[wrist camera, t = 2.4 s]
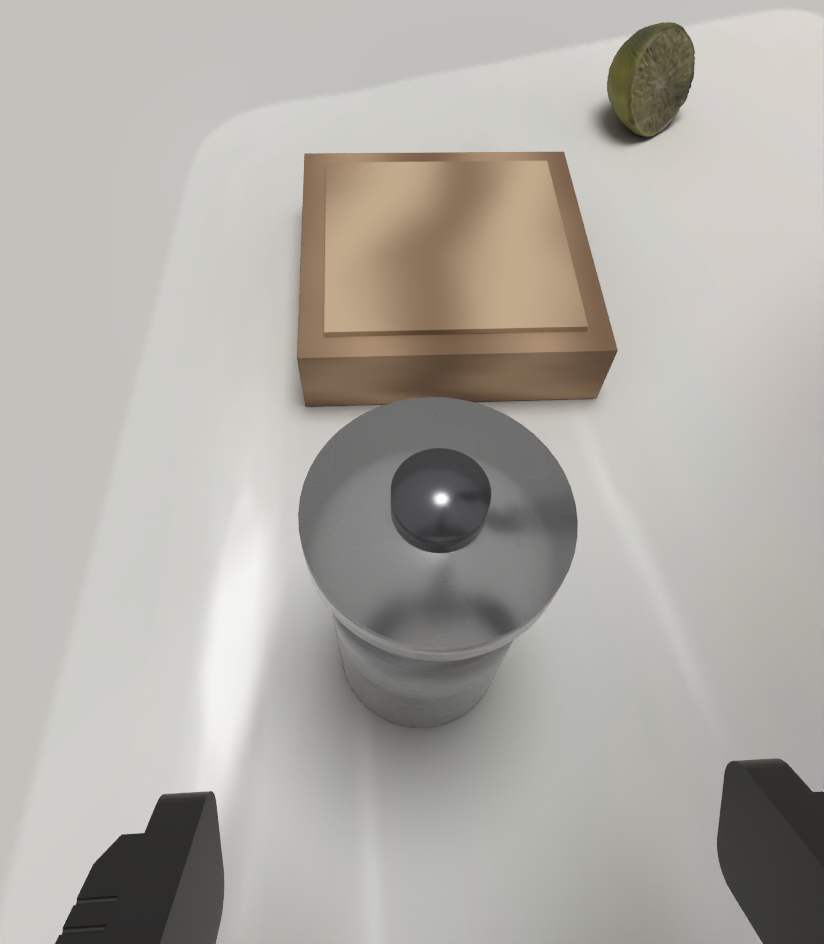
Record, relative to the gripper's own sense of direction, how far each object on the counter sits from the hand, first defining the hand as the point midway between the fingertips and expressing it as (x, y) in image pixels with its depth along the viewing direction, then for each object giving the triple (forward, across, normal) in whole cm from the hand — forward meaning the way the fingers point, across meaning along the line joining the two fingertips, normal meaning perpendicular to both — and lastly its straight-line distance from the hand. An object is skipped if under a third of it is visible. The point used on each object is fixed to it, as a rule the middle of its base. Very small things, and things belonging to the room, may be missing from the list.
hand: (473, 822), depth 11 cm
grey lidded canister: (+12, 0, +3) cm, 12 cm away
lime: (+32, -14, -17) cm, 39 cm away
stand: (+23, -2, -8) cm, 24 cm away
